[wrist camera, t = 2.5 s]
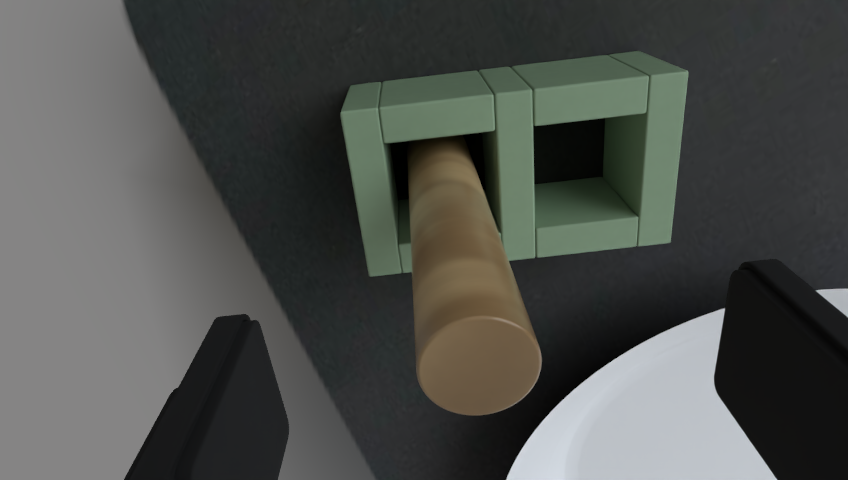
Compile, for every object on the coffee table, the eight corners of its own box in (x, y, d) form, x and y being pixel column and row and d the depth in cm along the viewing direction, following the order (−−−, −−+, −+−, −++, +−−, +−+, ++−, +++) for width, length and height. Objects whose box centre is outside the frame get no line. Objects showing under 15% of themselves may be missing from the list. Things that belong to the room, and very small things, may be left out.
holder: (373, 228, 24) (368, 278, 20) (349, 84, 21) (339, 111, 17) (629, 199, 23) (670, 243, 20) (639, 50, 21) (689, 70, 17)
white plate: (489, 604, 36) (498, 667, 33) (481, 268, 25) (494, 315, 21) (874, 572, 36) (920, 632, 33) (1044, 224, 25) (1141, 264, 22)
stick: (410, 184, 23) (423, 423, 11) (403, 126, 22) (408, 325, 10) (469, 177, 23) (543, 410, 11) (465, 119, 22) (541, 310, 10)
